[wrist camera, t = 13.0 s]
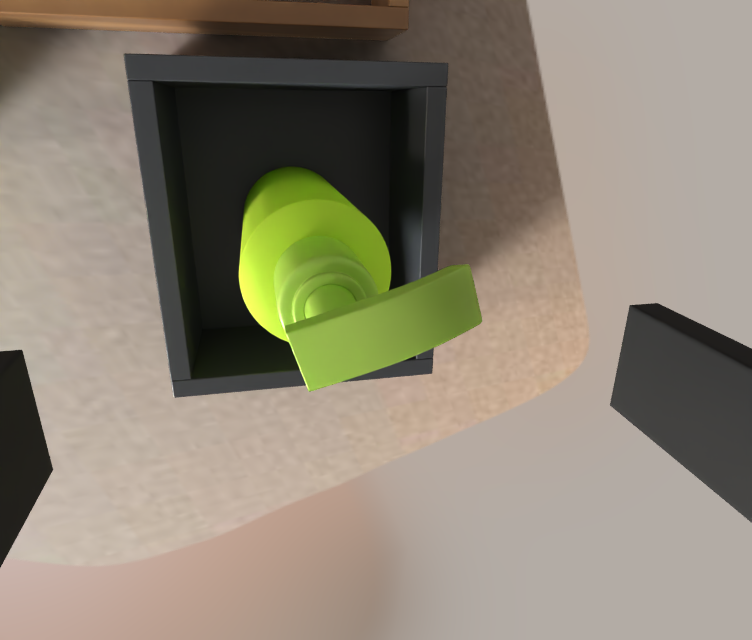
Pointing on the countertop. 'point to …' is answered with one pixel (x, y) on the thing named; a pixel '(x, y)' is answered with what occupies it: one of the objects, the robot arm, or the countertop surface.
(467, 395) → the countertop surface
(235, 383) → the dark grey open box
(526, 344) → the countertop surface
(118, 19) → the wooden divided tray
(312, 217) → the soap dispenser
